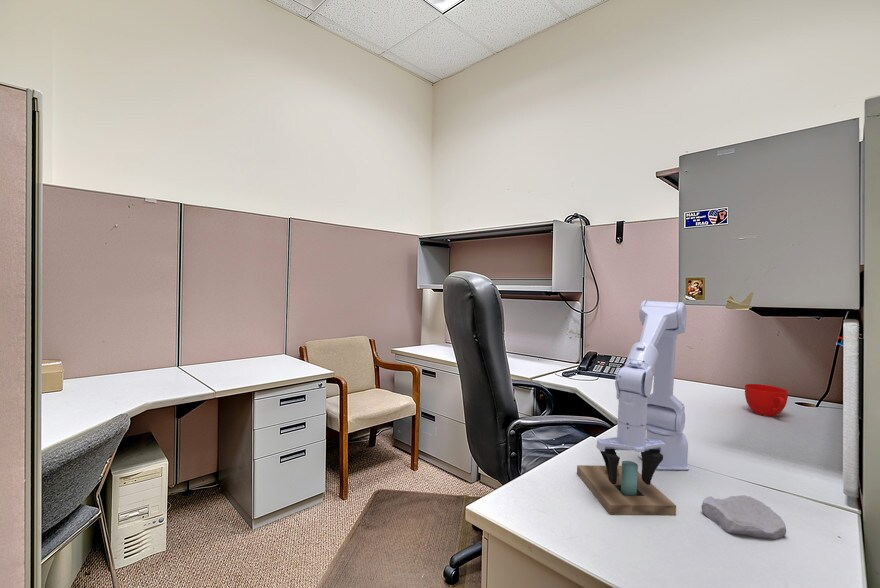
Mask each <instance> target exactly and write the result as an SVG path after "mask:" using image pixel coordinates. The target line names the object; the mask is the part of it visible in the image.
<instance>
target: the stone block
mask: <svg viewBox="0 0 880 588" xmlns="http://www.w3.org/2000/svg"><path fill="white" fill-rule="evenodd" d="M701 511H702V513H703V515H704V516H706V517H707V518H708V519H709V520H711V521H712V522H714V523H715V524H717V525H718V526H719V527H720V528H721V529H722V530H723V531H725V532H726V533H729V534H735V535H741V536H749V537H754V538H760V539H761V538H763V539H770V540H777V539H781V538H783V537H785V536H786V534H787V527H786V526H787V525H786V523H785V521H784V520H783V518H782V517H781V516H780V515H778V514H777V513H776V512H775V511H774V510H773V509H772V508H771V507H770V506H768V505H766V504H765V503H764V502H762V501H760V500H759V499H756V498H755V497H752V496H750V495H744V494H743V495H731V496H728V497H725V498H714V497H712V496H707V497H705V498H703V501H702V504H701Z"/></svg>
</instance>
